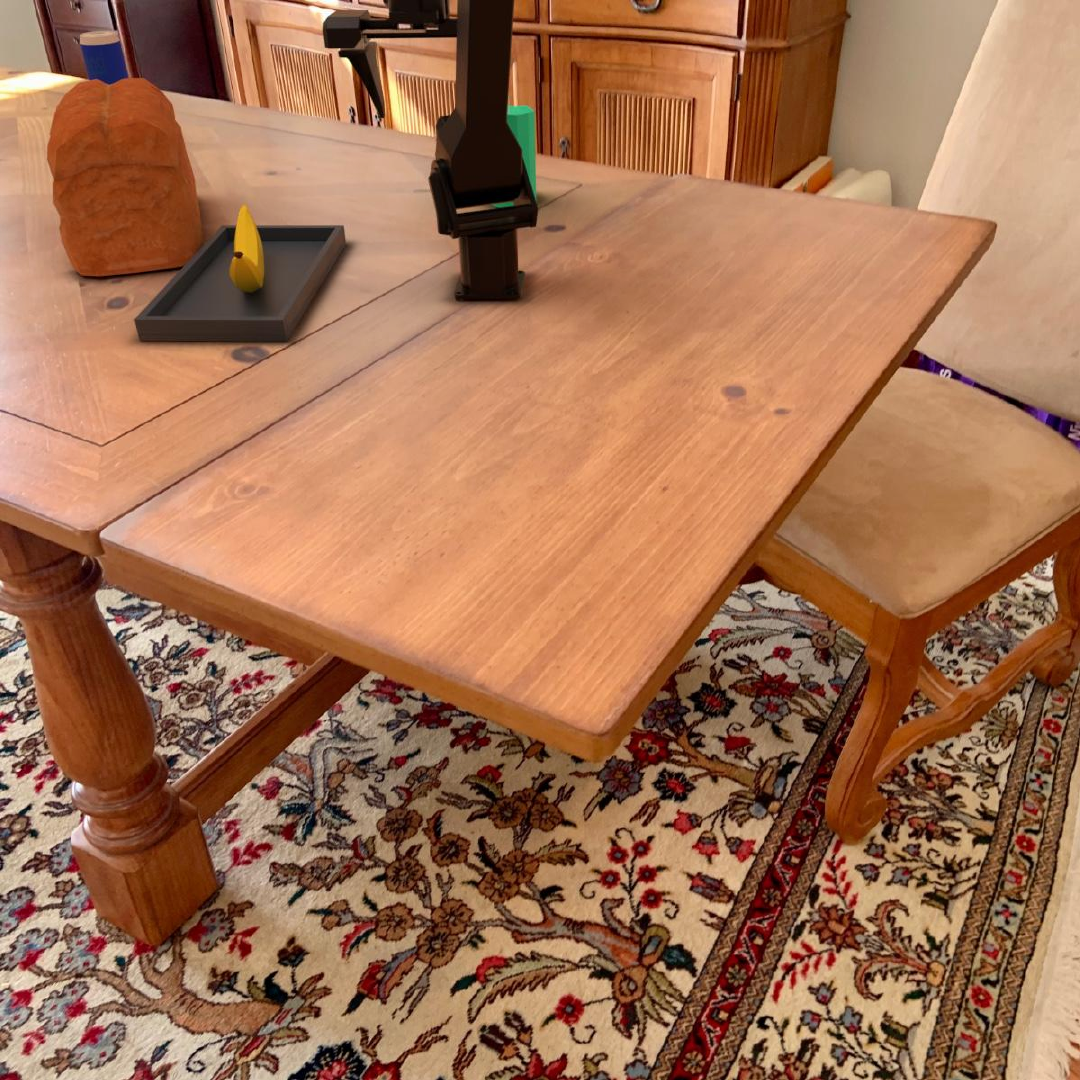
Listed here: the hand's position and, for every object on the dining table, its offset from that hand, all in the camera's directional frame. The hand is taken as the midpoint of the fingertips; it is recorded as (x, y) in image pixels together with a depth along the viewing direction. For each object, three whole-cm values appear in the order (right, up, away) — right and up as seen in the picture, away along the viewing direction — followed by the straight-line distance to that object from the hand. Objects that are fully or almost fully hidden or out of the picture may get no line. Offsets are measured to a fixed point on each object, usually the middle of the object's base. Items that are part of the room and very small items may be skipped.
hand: (425, 117), depth 109 cm
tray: (-17, -20, -7) cm, 27 cm away
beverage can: (-48, +11, +38) cm, 62 cm away
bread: (-33, -11, +7) cm, 36 cm away
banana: (-17, -20, -7) cm, 27 cm away
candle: (+9, -4, +15) cm, 18 cm away
